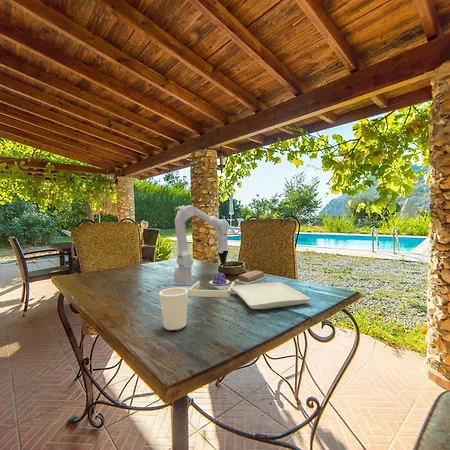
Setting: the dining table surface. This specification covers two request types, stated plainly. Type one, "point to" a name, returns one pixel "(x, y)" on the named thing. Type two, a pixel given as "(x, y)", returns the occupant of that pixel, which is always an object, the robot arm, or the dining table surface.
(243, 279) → the packaged product
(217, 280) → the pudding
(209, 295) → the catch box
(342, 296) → the dining table surface
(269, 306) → the square plate
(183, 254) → the robot arm
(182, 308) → the cup
